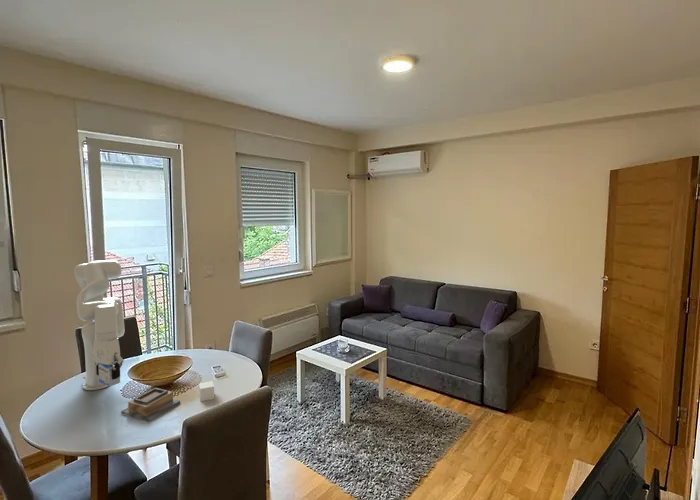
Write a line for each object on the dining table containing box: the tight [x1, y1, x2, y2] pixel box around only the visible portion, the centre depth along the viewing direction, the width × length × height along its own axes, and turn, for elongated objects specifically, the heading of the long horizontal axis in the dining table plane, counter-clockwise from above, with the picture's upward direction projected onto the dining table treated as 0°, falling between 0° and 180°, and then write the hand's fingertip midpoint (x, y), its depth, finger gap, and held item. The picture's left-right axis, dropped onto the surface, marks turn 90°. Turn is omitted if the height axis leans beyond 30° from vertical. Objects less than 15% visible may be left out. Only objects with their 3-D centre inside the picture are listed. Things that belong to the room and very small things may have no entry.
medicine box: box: [98, 361, 121, 387], centre depth 154 cm, size 8×4×9 cm, turn 61°
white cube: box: [198, 380, 215, 402], centre depth 174 cm, size 6×6×6 cm
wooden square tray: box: [120, 387, 181, 422], centre depth 163 cm, size 16×16×6 cm
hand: (108, 375), depth 153 cm, fingers closed on medicine box, 8 cm apart
